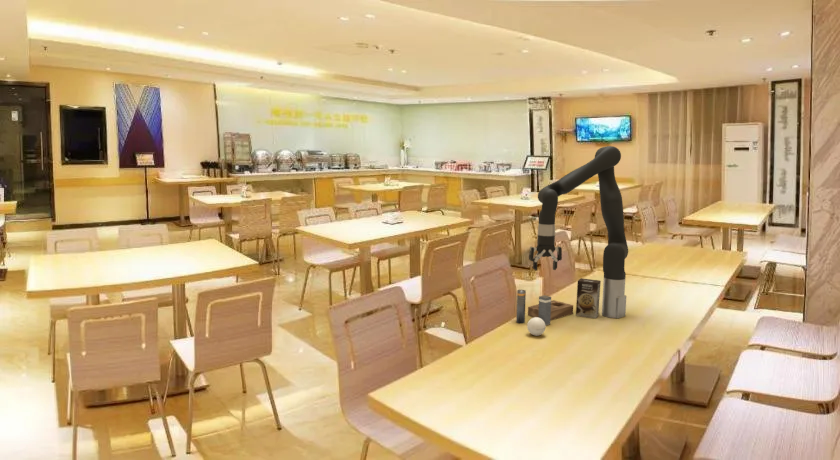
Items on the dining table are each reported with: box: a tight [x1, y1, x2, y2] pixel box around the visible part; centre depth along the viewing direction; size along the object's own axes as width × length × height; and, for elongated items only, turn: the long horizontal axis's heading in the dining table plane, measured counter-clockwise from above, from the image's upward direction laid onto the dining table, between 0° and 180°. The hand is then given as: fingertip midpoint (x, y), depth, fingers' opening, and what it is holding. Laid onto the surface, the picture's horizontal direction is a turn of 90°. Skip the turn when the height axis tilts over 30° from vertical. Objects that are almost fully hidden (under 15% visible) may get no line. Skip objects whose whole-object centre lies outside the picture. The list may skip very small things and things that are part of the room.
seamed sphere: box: [526, 317, 548, 337], centre depth 242 cm, size 10×7×7 cm
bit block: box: [527, 299, 574, 321], centre depth 270 cm, size 11×18×4 cm, turn 129°
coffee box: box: [575, 277, 601, 319], centre depth 268 cm, size 9×6×16 cm
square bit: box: [538, 294, 552, 327], centre depth 256 cm, size 4×4×12 cm
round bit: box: [515, 289, 527, 324], centre depth 258 cm, size 4×4×14 cm
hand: (544, 269), depth 266 cm, fingers open, 8 cm apart
